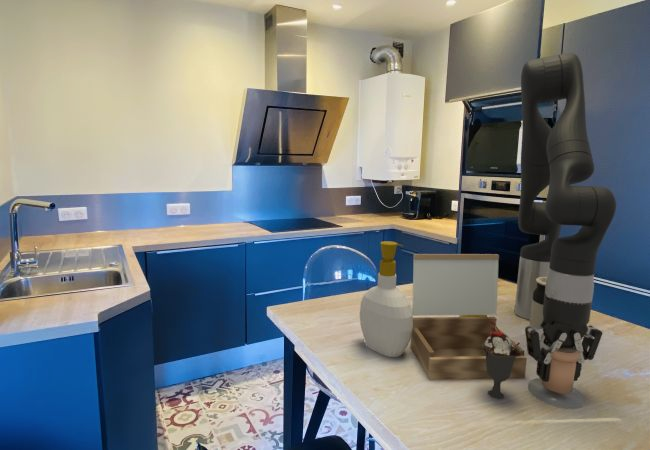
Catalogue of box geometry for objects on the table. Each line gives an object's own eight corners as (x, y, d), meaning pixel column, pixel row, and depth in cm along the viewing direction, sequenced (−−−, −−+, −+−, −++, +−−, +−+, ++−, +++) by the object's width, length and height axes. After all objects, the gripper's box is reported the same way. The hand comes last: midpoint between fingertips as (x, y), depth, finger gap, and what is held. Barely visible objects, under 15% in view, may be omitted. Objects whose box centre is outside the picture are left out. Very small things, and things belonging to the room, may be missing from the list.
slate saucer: (562, 381, 82) (563, 377, 82) (597, 410, 73) (597, 406, 72) (517, 382, 81) (518, 378, 81) (546, 412, 72) (547, 408, 72)
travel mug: (551, 367, 87) (561, 289, 84) (519, 351, 94) (527, 278, 91) (573, 359, 91) (583, 284, 88) (540, 345, 98) (549, 274, 95)
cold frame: (491, 348, 96) (494, 316, 95) (524, 380, 82) (528, 344, 81) (410, 349, 94) (411, 317, 93) (429, 382, 81) (431, 345, 79)
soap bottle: (421, 355, 92) (428, 245, 87) (396, 368, 86) (402, 250, 81) (375, 334, 102) (379, 234, 98) (350, 344, 97) (353, 238, 92)
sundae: (470, 387, 79) (477, 316, 77) (503, 387, 80) (510, 315, 77) (486, 408, 73) (494, 331, 70) (522, 407, 73) (530, 330, 71)
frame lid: (496, 314, 94) (495, 313, 94) (498, 254, 93) (497, 254, 94) (413, 315, 92) (412, 314, 93) (414, 254, 91) (413, 254, 92)
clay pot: (561, 376, 80) (566, 338, 78) (582, 394, 74) (588, 353, 72) (532, 377, 79) (537, 338, 78) (551, 395, 73) (556, 353, 72)
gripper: (590, 287, 78) (579, 368, 81) (519, 287, 77) (510, 369, 80) (621, 301, 70) (607, 389, 73) (543, 302, 69) (532, 391, 72)
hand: (557, 378), depth 76 cm, fingers closed on clay pot, 5 cm apart
